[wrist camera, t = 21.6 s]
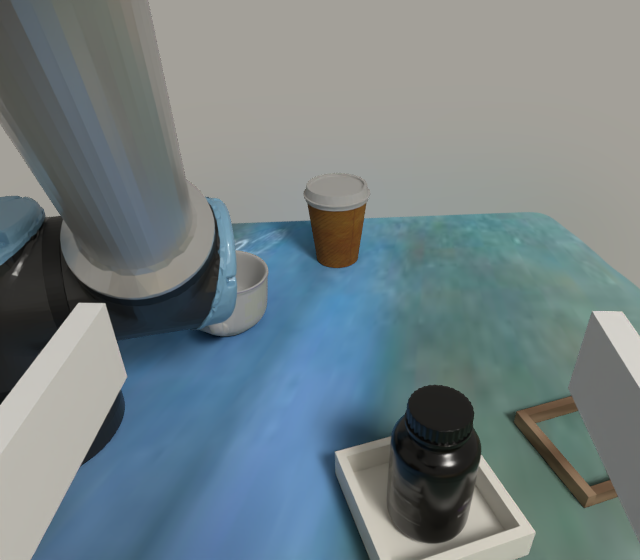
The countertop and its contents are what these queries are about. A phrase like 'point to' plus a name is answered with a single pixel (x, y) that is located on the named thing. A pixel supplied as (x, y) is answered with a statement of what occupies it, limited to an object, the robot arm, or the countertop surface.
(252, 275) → the teacup
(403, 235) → the countertop surface
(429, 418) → the supplement bottle
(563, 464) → the walnut collar
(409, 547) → the cream tray
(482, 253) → the countertop surface
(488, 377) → the countertop surface
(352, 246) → the disposable coffee cup
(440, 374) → the countertop surface
